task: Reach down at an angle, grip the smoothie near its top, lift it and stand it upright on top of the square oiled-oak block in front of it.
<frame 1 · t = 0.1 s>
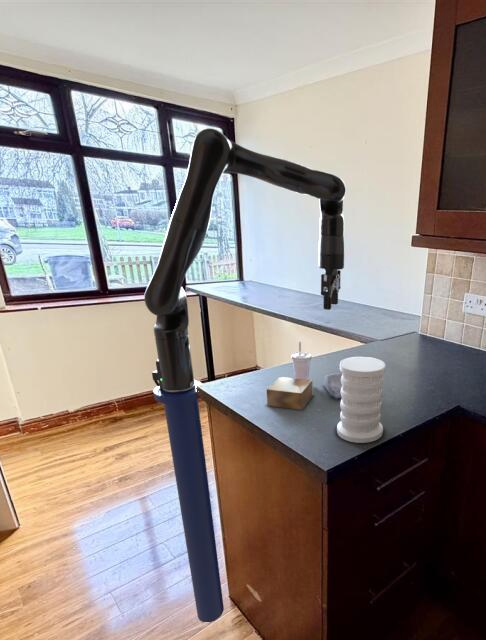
hand: (330, 306, 125), 24 cm above the table, tool pointing down, fingers open, 8 cm apart
smoothie: (302, 384, 129), on the table
decorative container: (359, 432, 102), on the table
stone block: (343, 391, 125), on the table
oak block: (290, 400, 117), on the table
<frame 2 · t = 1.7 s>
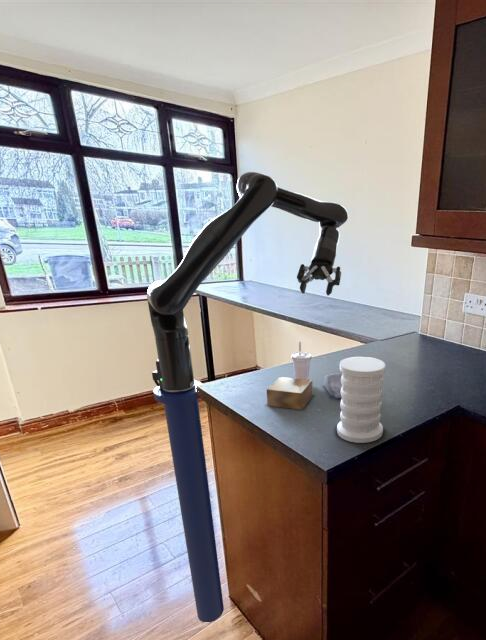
hand: (315, 293, 133), 27 cm above the table, tool tilted 45°, fingers open, 8 cm apart
nothing on the table moved.
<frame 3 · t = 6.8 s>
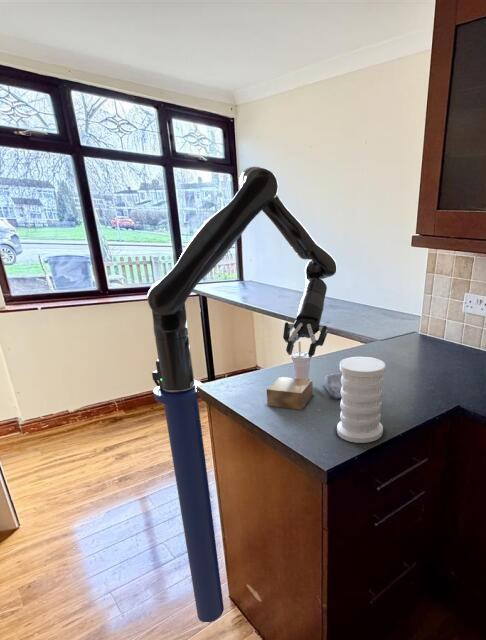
hand: (299, 354, 124), 10 cm above the table, tool tilted 45°, fingers closed on smoothie, 6 cm apart
smoothie: (302, 384, 129), on the table, touching gripper
everything else where it was.
when the fingers open (15 cm above the table, at t = 15.9 s): smoothie stays where it is, resting on oak block.
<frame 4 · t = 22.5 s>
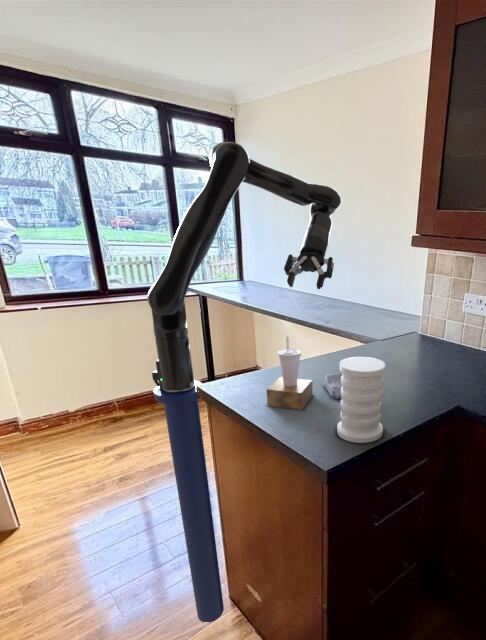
hand: (304, 286, 118), 31 cm above the table, tool tilted 45°, fingers open, 8 cm apart
smoothie: (290, 384, 116), point 5 cm above the table, touching oak block
everything else where it was.
at the end: smoothie inside the target area on the oak block (0.2 cm from its centre), point 4.8 cm above the oak block's base; smoothie tilted 0°; the gripper is holding nothing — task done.
